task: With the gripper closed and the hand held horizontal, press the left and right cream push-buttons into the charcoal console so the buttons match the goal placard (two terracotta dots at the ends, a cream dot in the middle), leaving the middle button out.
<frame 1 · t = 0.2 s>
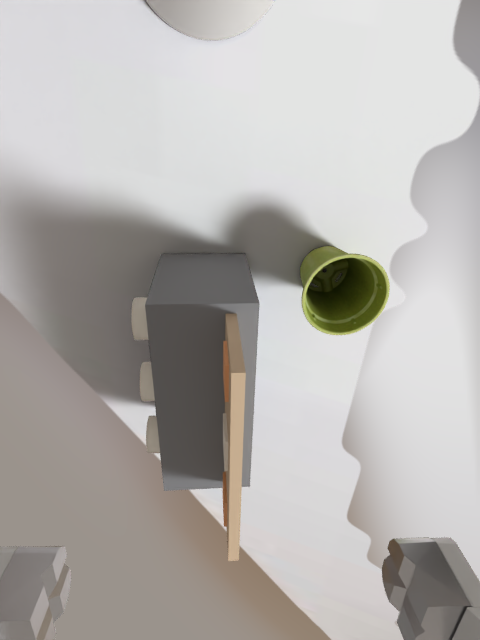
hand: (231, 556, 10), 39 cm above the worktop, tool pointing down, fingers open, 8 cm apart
plant pot: (323, 267, 48), on the worktop
middle button: (159, 381, 43), point 9 cm above the worktop, slide at 0.0 cm
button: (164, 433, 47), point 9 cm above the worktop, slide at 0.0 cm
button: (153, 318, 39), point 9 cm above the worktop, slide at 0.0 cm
console: (205, 339, 52), on the worktop
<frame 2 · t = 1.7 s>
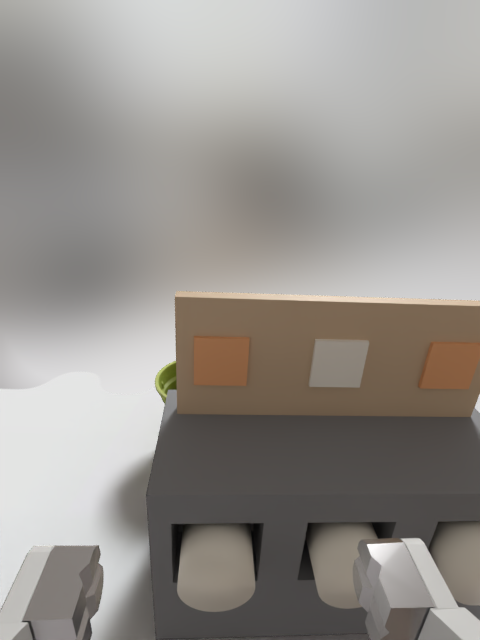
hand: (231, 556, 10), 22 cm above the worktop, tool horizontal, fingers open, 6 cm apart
plant pot: (198, 441, 45), on the worktop
middle button: (346, 555, 24), point 9 cm above the worktop, slide at 0.0 cm
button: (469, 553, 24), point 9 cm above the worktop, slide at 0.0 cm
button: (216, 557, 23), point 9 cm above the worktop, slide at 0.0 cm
console: (309, 565, 32), on the worktop
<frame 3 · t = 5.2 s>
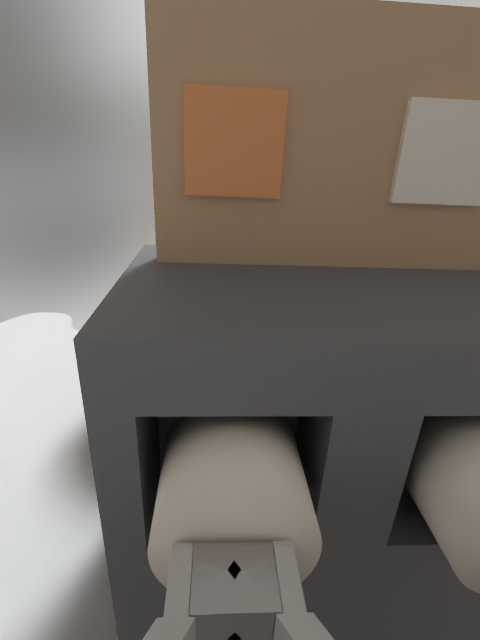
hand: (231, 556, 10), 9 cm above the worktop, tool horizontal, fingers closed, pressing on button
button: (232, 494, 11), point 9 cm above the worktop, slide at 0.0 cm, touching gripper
console: (374, 535, 20), on the worktop
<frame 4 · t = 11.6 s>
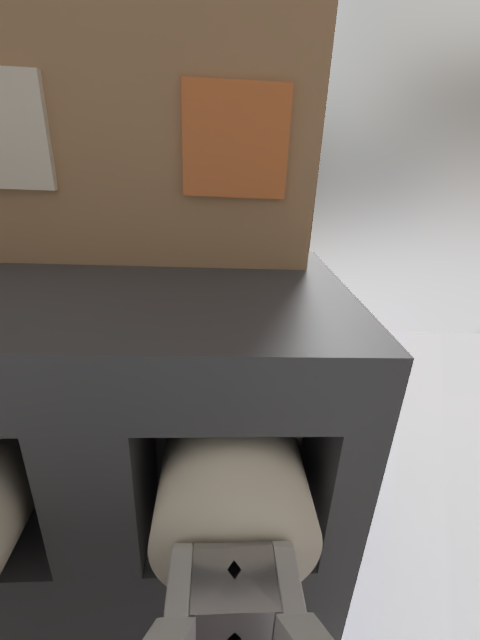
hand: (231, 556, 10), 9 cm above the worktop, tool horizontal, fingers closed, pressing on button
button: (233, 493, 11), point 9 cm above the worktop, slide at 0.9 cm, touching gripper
console: (56, 559, 18), on the worktop
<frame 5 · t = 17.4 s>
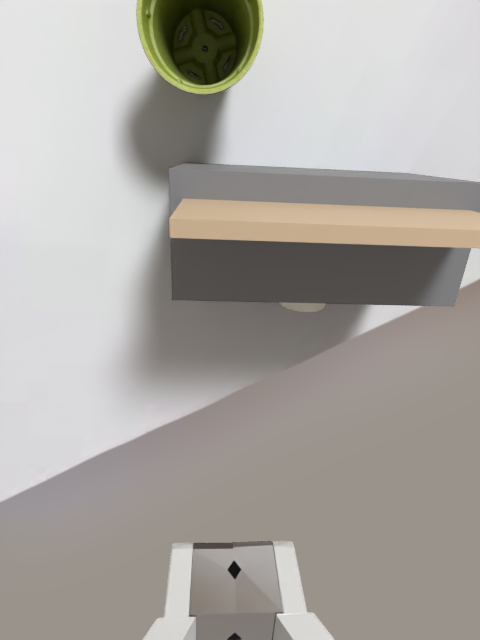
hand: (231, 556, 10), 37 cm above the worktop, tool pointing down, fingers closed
plant pot: (204, 49, 36), on the worktop
middle button: (304, 286, 37), point 9 cm above the worktop, slide at 0.0 cm
console: (292, 215, 43), on the worktop
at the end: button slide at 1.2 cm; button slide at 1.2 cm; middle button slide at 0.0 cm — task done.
